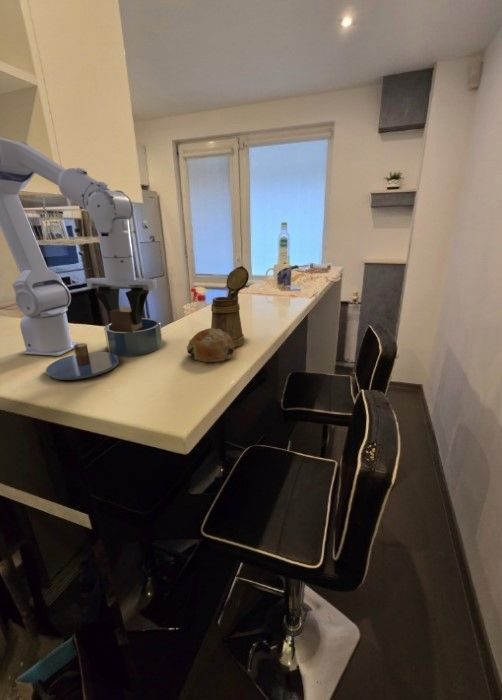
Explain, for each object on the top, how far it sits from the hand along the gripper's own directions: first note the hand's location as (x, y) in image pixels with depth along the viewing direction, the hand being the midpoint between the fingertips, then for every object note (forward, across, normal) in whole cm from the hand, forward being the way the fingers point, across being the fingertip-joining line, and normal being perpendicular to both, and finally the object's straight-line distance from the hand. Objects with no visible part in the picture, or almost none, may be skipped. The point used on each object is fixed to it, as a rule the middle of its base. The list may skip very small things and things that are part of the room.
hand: (127, 322), depth 70 cm
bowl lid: (+8, +7, +6) cm, 12 cm away
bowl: (+8, +3, -8) cm, 12 cm away
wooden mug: (+8, -19, -17) cm, 26 cm away
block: (+1, 0, 0) cm, 1 cm away
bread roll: (+8, -17, -5) cm, 19 cm away
